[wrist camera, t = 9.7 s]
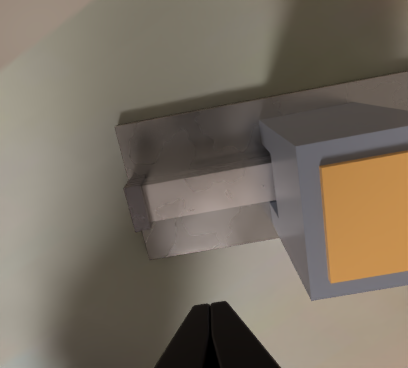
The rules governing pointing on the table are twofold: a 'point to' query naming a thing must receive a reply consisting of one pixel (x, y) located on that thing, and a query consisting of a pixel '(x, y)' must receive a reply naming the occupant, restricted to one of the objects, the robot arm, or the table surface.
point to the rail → (230, 145)
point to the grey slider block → (342, 196)
